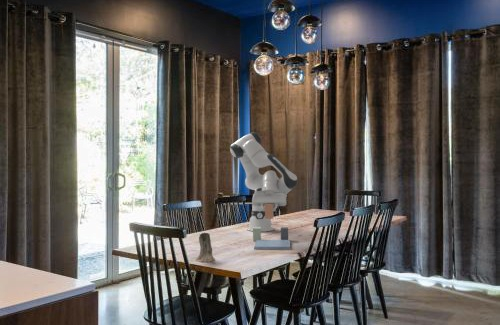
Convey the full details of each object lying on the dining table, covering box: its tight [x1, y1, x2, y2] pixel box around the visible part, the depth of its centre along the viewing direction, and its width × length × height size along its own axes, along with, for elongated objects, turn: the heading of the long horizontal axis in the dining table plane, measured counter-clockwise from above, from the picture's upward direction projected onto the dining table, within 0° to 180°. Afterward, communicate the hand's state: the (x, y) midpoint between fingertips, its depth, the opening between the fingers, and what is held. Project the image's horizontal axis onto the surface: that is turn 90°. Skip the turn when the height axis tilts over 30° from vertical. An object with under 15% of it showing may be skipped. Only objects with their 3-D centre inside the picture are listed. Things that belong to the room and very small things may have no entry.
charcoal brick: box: [280, 226, 289, 240], centre depth 270 cm, size 4×4×8 cm
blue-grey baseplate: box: [253, 239, 291, 250], centre depth 256 cm, size 20×20×2 cm
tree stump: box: [195, 232, 216, 263], centre depth 224 cm, size 10×10×13 cm
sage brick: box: [252, 227, 262, 242], centre depth 272 cm, size 4×4×8 cm
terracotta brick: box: [265, 204, 274, 220], centre depth 255 cm, size 4×4×8 cm
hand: (269, 210), depth 255 cm, fingers closed on terracotta brick, 4 cm apart
